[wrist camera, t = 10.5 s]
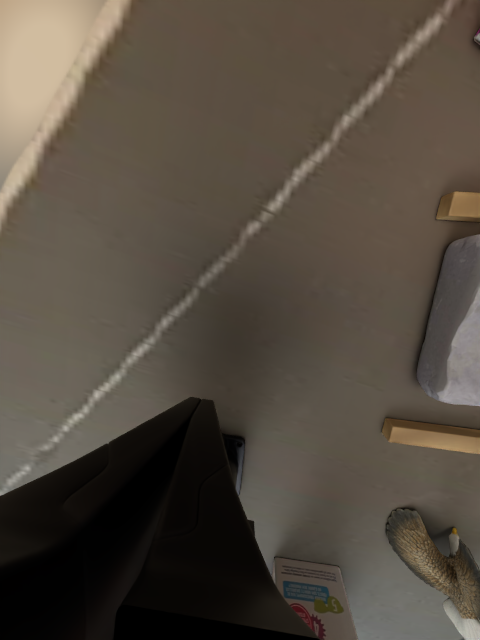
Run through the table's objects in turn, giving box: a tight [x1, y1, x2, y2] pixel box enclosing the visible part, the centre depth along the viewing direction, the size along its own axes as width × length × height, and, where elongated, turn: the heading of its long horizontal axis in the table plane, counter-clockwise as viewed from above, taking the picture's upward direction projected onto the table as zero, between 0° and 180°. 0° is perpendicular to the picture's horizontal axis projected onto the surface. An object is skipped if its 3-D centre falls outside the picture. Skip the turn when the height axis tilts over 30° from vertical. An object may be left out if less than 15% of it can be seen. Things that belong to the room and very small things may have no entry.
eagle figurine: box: [386, 508, 480, 640], centre depth 19 cm, size 8×7×9 cm
